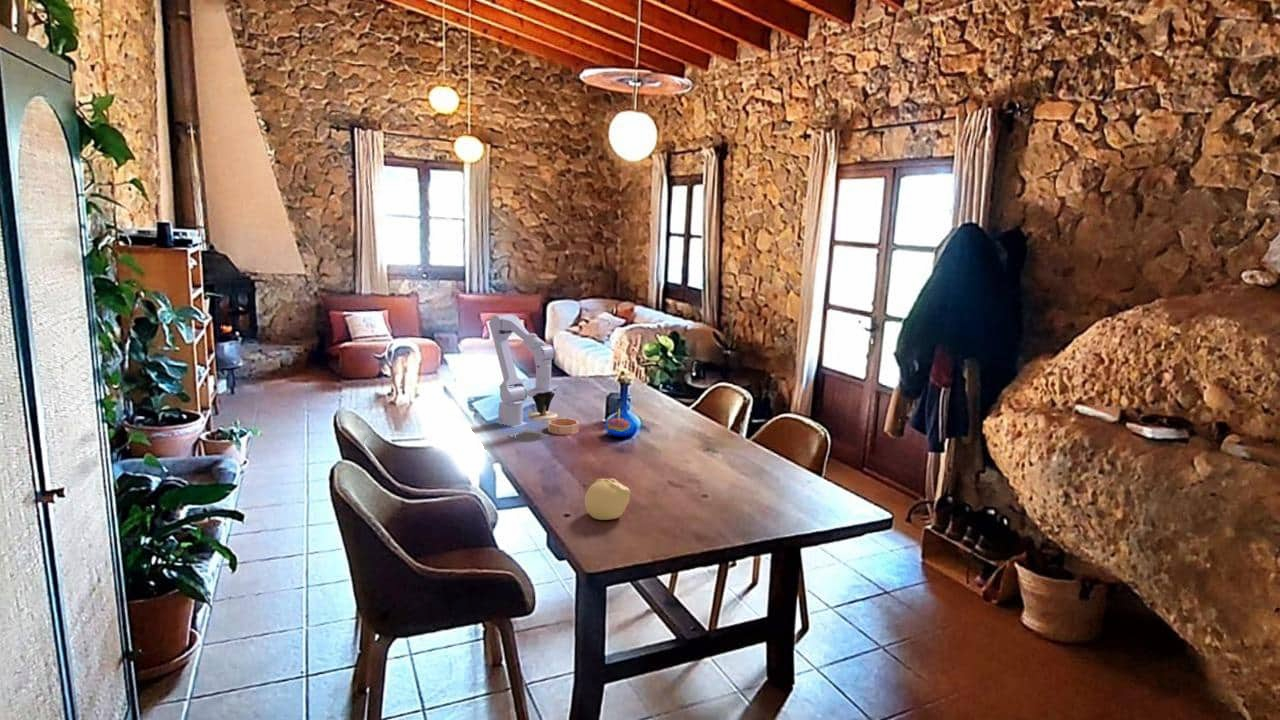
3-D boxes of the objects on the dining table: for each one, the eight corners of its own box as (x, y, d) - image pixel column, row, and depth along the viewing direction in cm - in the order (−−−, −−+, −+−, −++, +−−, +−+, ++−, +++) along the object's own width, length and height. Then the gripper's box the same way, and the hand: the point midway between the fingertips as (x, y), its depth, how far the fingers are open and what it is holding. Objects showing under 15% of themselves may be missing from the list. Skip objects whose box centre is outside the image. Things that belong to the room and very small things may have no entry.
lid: (522, 416, 276) (522, 405, 275) (541, 411, 285) (541, 399, 284) (544, 421, 270) (544, 409, 269) (563, 416, 279) (563, 404, 278)
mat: (504, 436, 273) (504, 435, 273) (526, 430, 283) (526, 429, 283) (528, 443, 267) (528, 442, 267) (550, 436, 276) (550, 435, 276)
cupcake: (629, 440, 277) (630, 409, 274) (606, 438, 277) (607, 408, 274) (629, 433, 285) (631, 403, 283) (608, 432, 285) (609, 402, 283)
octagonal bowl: (541, 430, 283) (541, 422, 282) (561, 424, 292) (561, 416, 292) (565, 437, 276) (565, 428, 275) (585, 430, 286) (585, 421, 285)
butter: (635, 516, 206) (636, 480, 204) (605, 528, 198) (606, 490, 195) (606, 504, 214) (607, 469, 212) (576, 515, 205) (577, 479, 203)
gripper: (538, 381, 266) (537, 417, 269) (564, 375, 278) (563, 410, 280) (524, 378, 270) (523, 413, 273) (550, 372, 282) (549, 406, 284)
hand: (542, 411), depth 277 cm, fingers closed on lid, 2 cm apart
